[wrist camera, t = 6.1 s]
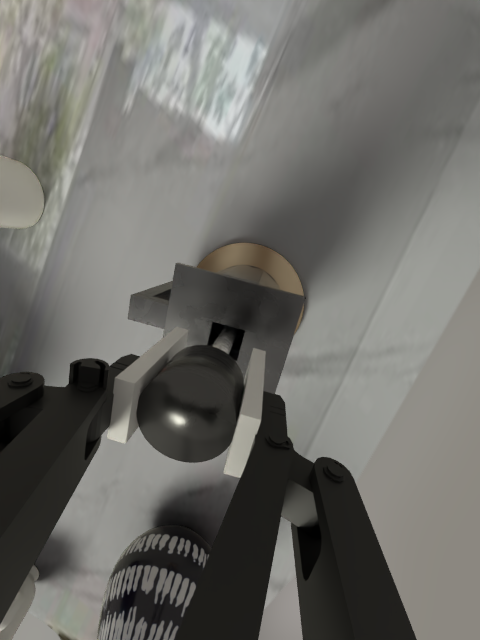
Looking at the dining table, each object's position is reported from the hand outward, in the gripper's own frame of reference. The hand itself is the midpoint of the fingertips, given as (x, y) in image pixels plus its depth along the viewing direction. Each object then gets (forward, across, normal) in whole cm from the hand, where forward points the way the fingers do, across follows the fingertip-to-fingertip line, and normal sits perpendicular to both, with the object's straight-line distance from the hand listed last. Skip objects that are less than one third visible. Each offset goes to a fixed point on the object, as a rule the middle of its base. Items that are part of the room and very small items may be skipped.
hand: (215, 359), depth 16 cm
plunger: (+14, 0, 0) cm, 14 cm away
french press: (+16, -2, 0) cm, 16 cm away
